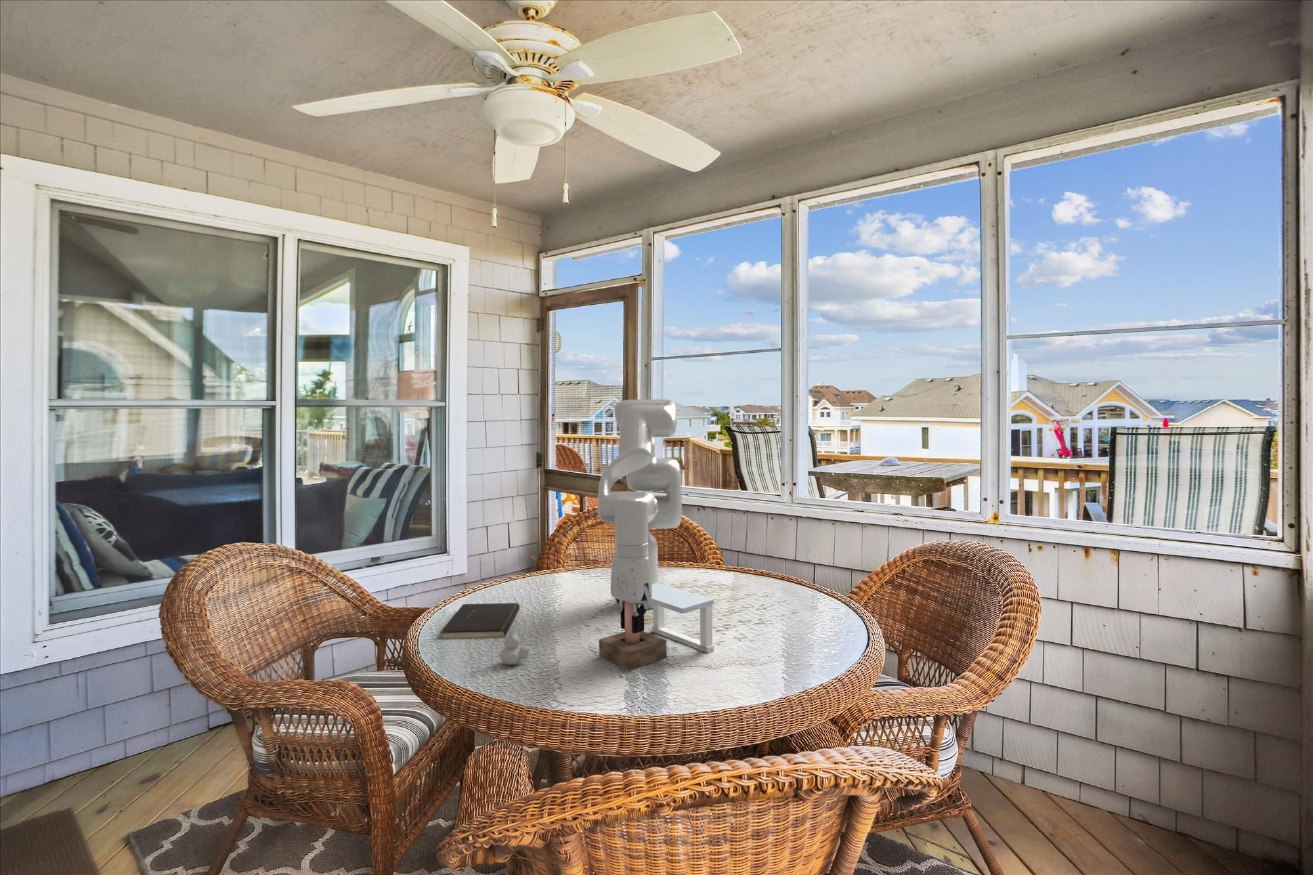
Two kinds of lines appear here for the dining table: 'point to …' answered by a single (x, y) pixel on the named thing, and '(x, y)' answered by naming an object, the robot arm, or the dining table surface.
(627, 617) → the peg
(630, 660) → the socket block
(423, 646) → the dining table surface
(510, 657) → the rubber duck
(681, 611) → the small white step stool
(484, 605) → the hardcover book
